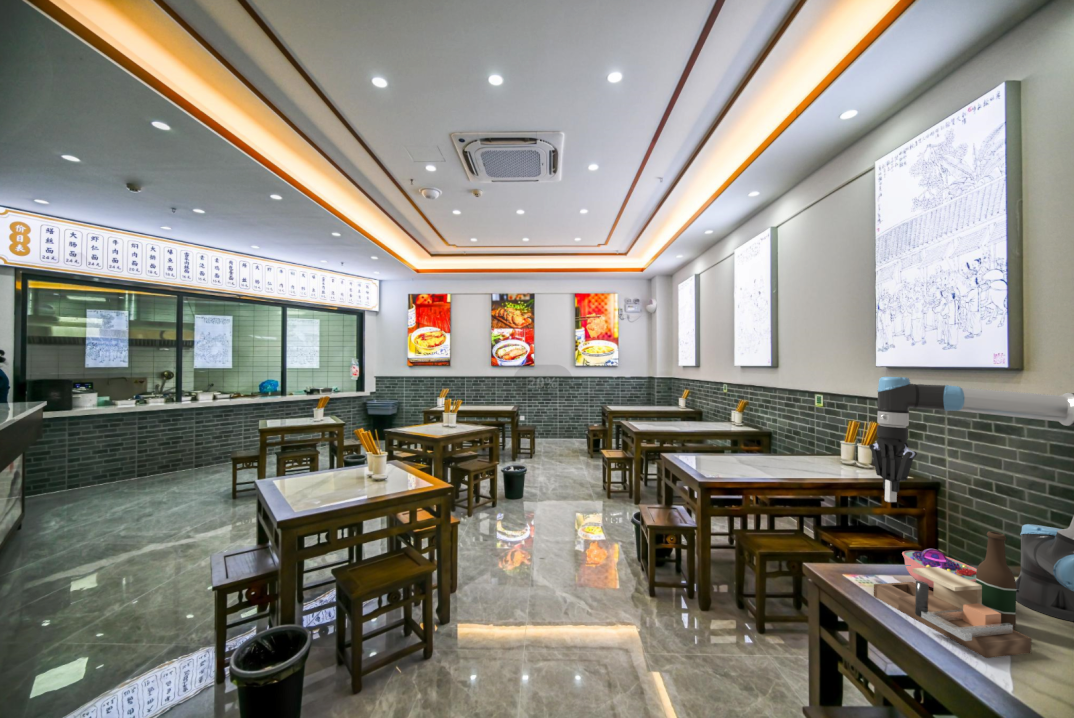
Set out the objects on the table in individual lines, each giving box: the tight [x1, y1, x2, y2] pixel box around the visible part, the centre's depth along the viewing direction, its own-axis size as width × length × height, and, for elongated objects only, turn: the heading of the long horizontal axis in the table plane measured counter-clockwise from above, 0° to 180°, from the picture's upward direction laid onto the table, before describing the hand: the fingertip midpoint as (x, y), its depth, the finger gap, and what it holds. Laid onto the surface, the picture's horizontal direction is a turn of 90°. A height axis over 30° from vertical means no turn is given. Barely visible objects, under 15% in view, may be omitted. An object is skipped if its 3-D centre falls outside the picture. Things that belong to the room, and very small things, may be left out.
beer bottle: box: [976, 530, 1017, 631], centre depth 112 cm, size 8×8×24 cm
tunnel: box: [913, 567, 982, 609], centre depth 112 cm, size 9×10×8 cm
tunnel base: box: [873, 581, 1032, 659], centre depth 111 cm, size 14×26×4 cm, turn 11°
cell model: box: [901, 548, 977, 589], centre depth 128 cm, size 17×20×11 cm
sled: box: [915, 580, 1013, 641], centre depth 104 cm, size 16×11×8 cm
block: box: [963, 603, 1001, 626], centre depth 104 cm, size 5×4×4 cm
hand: (890, 501), depth 130 cm, fingers closed
